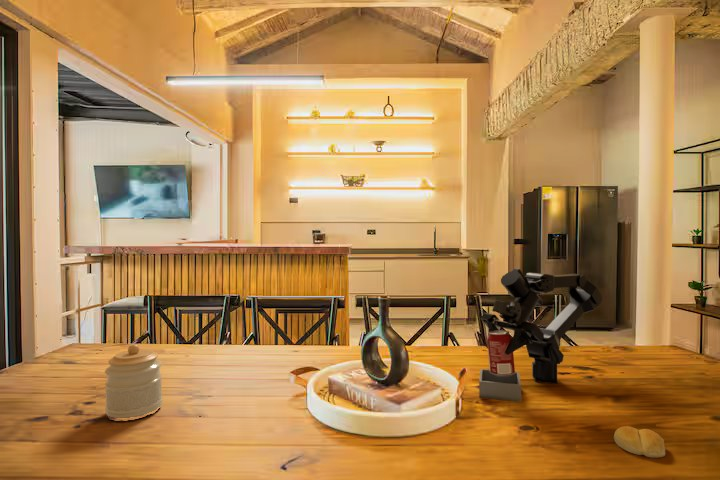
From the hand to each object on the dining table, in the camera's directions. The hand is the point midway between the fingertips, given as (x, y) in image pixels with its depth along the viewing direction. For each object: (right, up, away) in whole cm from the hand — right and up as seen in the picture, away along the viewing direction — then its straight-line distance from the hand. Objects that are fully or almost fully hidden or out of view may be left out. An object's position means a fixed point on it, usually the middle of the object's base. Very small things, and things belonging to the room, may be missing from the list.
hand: (496, 350), depth 116 cm
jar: (-97, -14, -9) cm, 99 cm away
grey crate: (+1, -12, +1) cm, 12 cm away
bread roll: (+21, -13, -30) cm, 38 cm away
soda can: (+2, -7, 0) cm, 7 cm away
